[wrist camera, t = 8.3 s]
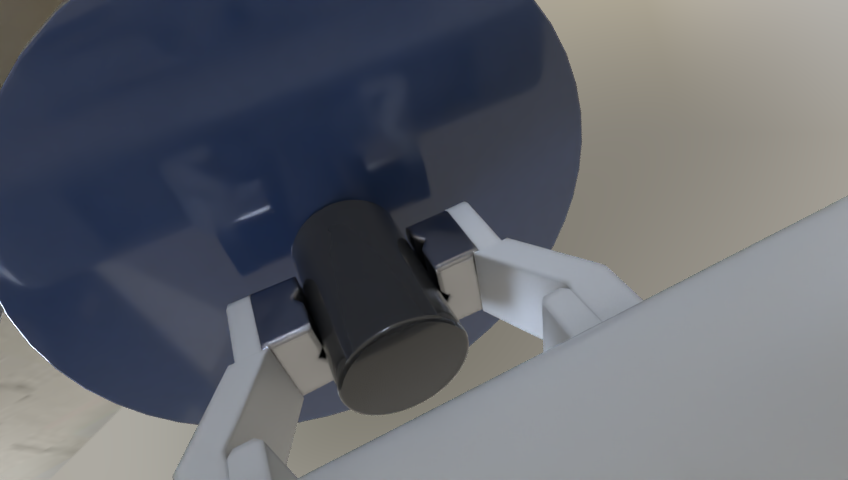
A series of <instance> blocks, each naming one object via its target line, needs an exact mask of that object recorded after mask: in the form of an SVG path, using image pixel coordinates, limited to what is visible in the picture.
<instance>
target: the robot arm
mask: <svg viewBox="0 0 848 480" xmlns="http://www.w3.org/2000/svg"><path fill="white" fill-rule="evenodd" d="M406 235H407V239H408V242H409V243H410V245H411V246H412V248H413V249H414V252H415V253H416V255H417V256H418V258H419V259H420V261H421V262H422V264H423V265H424V267H425V269H426V270H427V272H428V273H429V275H430V276H431V278H432V279H433V281H434V282H435V284H436V285H437V287H438V289H439V290H440V292H441V293H442V295H443V296H444V298H445V299H446V301H447V302H448V304H449V306H450V307H451V309H452V310H453V312H454V313H455V315H456V316H457V318H458V319H459V320H460V319H462V318H464V317H466V316H468V315H471V314H473V313H475V312H477V311H480V310H482V309H483V311H485V312H487V313H489V314H491V315H493V316H495V317H497V318H499V319H501V320H504V321H506V322H508V323H510V324H512V325H514V326H516V327H518V328H520V329H522V330H524V331H526V332H528V333H530V334H532V335H534V336H536V337H538V338H540V339H542V340H543V349H544V352H543V353H541V354H539V355H537V356H535V357H533V358H531V359H529V360H527V361H525V362H524V363H521V364H520V365H518V366H516V367H514V368H512V369H510V370H508V371H506V372H504V373H502V374H500V375H498V376H496V377H495V378H492V379H490V380H489V381H487V382H485V383H483V384H481V385H479V386H477V387H475V388H473V389H471V390H469V391H467V392H465V393H463V394H461V395H459V396H458V397H456V398H454V399H452V400H450V401H448V402H446V403H444V404H442V405H440V406H438V407H436V408H434V409H432V410H430V411H428V412H426V413H424V414H422V415H420V416H419V417H417V418H415V419H413V420H411V421H409V422H407V423H405V424H403V425H401V426H399V427H397V428H395V429H393V430H391V431H389V432H387V433H386V434H384V435H382V436H380V437H378V438H376V439H374V440H372V441H370V442H368V443H366V444H364V445H362V446H360V447H358V448H356V449H354V450H352V451H350V452H348V453H346V454H345V455H343V456H341V457H339V458H337V459H335V460H333V461H331V462H329V463H327V464H325V465H323V466H321V467H319V468H317V469H315V470H314V471H311V472H309V473H308V474H306V475H304V476H302V477H300V478H297V477H296V476H295V475H294V474H293V473H292V472H291V470H290V469H289V468H288V467H287V466H286V464H287V461H288V457H289V453H290V449H291V445H292V442H293V438H294V434H295V430H296V426H297V423H298V419H299V415H300V411H301V408H302V404H303V400H304V397H303V396H304V395H306V394H308V393H310V392H312V391H314V390H316V389H318V388H320V387H322V386H323V385H325V384H327V383H329V382H331V381H333V378H332V375H331V372H330V369H329V366H328V363H327V360H326V357H325V354H324V351H323V348H322V344H321V341H320V338H319V335H318V332H317V329H316V326H315V323H314V322H313V319H312V316H311V313H310V310H309V306H308V303H307V300H306V297H305V294H304V292H303V289H302V287H301V285H300V283H299V282H298V280H297V278H296V277H292V278H290V279H287V280H285V281H283V282H280V283H278V284H275V285H273V286H270V287H268V288H265V289H263V290H261V291H258V292H256V293H253V294H251V295H250V296H247V297H245V298H242V299H240V300H237V301H235V302H233V303H230V304H228V305H227V310H226V312H227V318H228V324H229V331H230V337H231V343H232V349H233V356H234V362H235V363H234V364H231V365H229V366H228V367H227V369H226V371H225V373H224V375H223V377H222V379H221V381H220V383H219V385H218V387H217V389H216V391H215V393H214V395H213V397H212V399H211V401H210V403H209V405H208V407H207V409H206V411H205V413H204V415H203V417H202V419H201V421H200V423H199V425H198V427H197V428H196V430H195V432H194V434H193V437H192V438H191V440H190V442H189V444H188V446H187V448H186V450H185V452H184V454H183V456H182V458H181V460H180V463H179V464H178V466H177V468H176V470H175V472H174V474H173V480H848V196H846V197H844V198H842V199H840V200H838V201H836V202H834V203H832V204H830V205H829V206H827V207H825V208H823V209H821V210H819V211H817V212H815V213H813V214H811V215H809V216H807V217H805V218H803V219H801V220H799V221H797V222H796V223H794V224H792V225H790V226H788V227H786V228H784V229H782V230H780V231H778V232H776V233H774V234H772V235H770V236H768V237H766V238H764V239H762V240H761V241H759V242H757V243H755V244H753V245H751V246H749V247H747V248H745V249H743V250H741V251H739V252H738V253H735V254H733V255H731V256H729V257H727V258H726V259H724V260H722V261H720V262H718V263H716V264H714V265H712V266H710V267H708V268H706V269H704V270H702V271H700V272H698V273H696V274H694V275H692V276H690V277H689V278H687V279H685V280H683V281H681V282H679V283H677V284H675V285H673V286H671V287H669V288H667V289H665V290H663V291H661V292H659V293H658V294H656V295H654V296H652V297H650V298H648V299H646V300H644V301H643V300H642V299H641V298H640V297H639V296H638V295H637V294H636V293H635V292H634V291H633V290H631V289H630V288H629V287H628V286H627V285H626V284H625V283H624V282H623V281H622V280H621V279H620V278H619V277H617V275H615V274H614V273H613V272H612V271H611V270H610V269H609V268H608V267H607V266H606V265H604V264H600V263H596V262H593V261H589V260H586V259H582V258H579V257H575V256H571V255H567V254H564V253H560V252H557V251H553V250H550V249H546V248H542V247H539V246H535V245H531V244H528V243H524V242H521V241H517V240H513V239H510V238H506V239H504V240H501V239H500V238H499V237H498V236H497V235H496V234H495V232H494V231H493V230H492V229H491V228H490V227H489V226H488V225H487V224H486V222H485V221H484V220H483V219H482V218H481V217H480V216H479V215H478V214H477V212H476V211H475V210H474V209H473V208H472V207H471V206H470V205H469V204H468V203H467V202H465V201H464V202H461V203H459V204H457V205H455V206H453V207H451V208H448V209H446V210H445V211H443V212H440V213H438V214H436V215H434V216H431V217H429V218H427V219H425V220H422V221H420V222H418V223H416V224H413V225H411V226H409V227H407V228H406Z"/></svg>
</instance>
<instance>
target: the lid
mask: <svg viewBox="0 0 848 480" xmlns="http://www.w3.org/2000/svg"><path fill="white" fill-rule="evenodd" d="M581 145H582V129H581V110H580V104H579V98H578V92H577V86H576V82H575V79H574V76H573V72H572V69H571V66H570V63H569V60H568V57H567V54H566V52H565V50H564V48H563V46H562V44H561V42H560V40H559V38H558V36H557V34H556V32H555V30H554V28H553V26H552V24H551V22H550V21H549V20H548V18H547V17H546V16H545V14H544V13H543V11H542V10H541V9H540V7H539V6H538V5H537V3H536V2H535V1H534V0H64V1H63V2H62V3H60V5H59V6H58V7H57V8H56V9H55V11H54V12H53V13H52V14H51V15H50V17H49V18H48V19H47V20H46V21H45V23H44V24H43V25H42V26H41V27H40V29H39V30H38V31H37V32H36V33H35V35H34V36H33V37H32V38H31V39H30V40H29V42H28V43H27V44H26V45H25V47H24V48H23V50H22V52H21V53H20V55H19V57H18V58H17V60H16V62H15V64H14V66H13V67H12V69H11V71H10V73H9V74H8V76H7V78H6V80H5V82H4V83H3V85H2V87H1V89H0V304H1V306H2V308H3V310H4V312H5V314H6V315H7V317H8V318H9V319H10V321H11V322H12V323H13V324H14V326H15V327H16V328H17V329H18V331H19V332H20V333H21V335H22V336H23V337H24V338H25V340H26V341H27V342H28V343H29V345H30V346H31V347H32V348H34V349H35V350H36V351H37V352H38V353H39V354H40V355H41V356H42V357H43V358H44V359H46V360H47V361H48V362H49V363H50V364H51V365H52V366H53V367H54V368H55V369H57V370H58V371H60V372H61V373H63V374H64V375H65V376H67V377H68V378H70V379H71V380H73V381H74V382H76V383H77V384H79V385H80V386H82V387H83V388H85V389H87V390H89V391H91V392H93V393H95V394H97V395H99V396H101V397H103V398H105V399H107V400H109V401H111V402H113V403H115V404H117V405H120V406H123V407H126V408H129V409H132V410H135V411H137V412H140V413H143V414H146V415H149V416H154V417H158V418H162V419H167V420H171V421H175V422H180V423H187V424H195V425H199V423H200V421H201V419H202V417H203V415H204V413H205V411H206V409H207V407H208V405H209V403H210V401H211V399H212V397H213V395H214V393H215V391H216V389H217V387H218V385H219V383H220V381H221V379H222V377H223V375H224V373H225V371H226V369H227V367H228V366H229V365H231V364H234V363H235V362H234V356H233V349H232V343H231V337H230V331H229V324H228V318H227V312H226V310H227V305H228V304H230V303H233V302H235V301H237V300H240V299H242V298H245V297H247V296H250V295H251V294H253V293H256V292H258V291H261V290H263V289H265V288H268V287H270V286H273V285H275V284H278V283H280V282H283V281H285V280H287V279H290V278H292V277H296V278H297V280H298V282H299V283H300V285H301V287H302V289H303V292H304V294H305V297H306V300H307V303H308V306H309V310H310V313H311V316H312V319H313V322H314V323H315V326H316V329H317V332H318V335H319V338H320V341H321V344H322V348H323V351H324V354H325V357H326V360H327V363H328V366H329V369H330V372H331V375H332V378H333V381H331V382H329V383H327V384H325V385H323V386H322V387H320V388H318V389H316V390H314V391H312V392H310V393H308V394H306V395H304V396H303V397H304V400H303V404H302V408H301V411H300V415H299V419H298V422H303V421H308V420H313V419H318V418H322V417H327V416H330V415H334V414H337V413H341V412H344V411H348V410H352V411H354V412H357V413H360V414H363V415H371V416H380V415H388V414H393V413H397V412H401V411H404V410H407V409H409V408H412V407H414V406H417V405H419V404H421V403H423V402H424V401H426V400H427V399H429V398H431V397H433V396H434V395H435V394H436V393H438V392H439V391H441V390H442V389H443V388H444V387H445V386H447V385H448V383H450V382H451V380H453V378H454V377H455V376H456V375H457V374H458V372H459V371H460V369H461V368H462V366H463V364H464V362H465V360H466V357H467V354H468V348H469V346H471V345H472V344H473V343H474V342H475V341H476V340H478V339H479V338H480V337H481V336H482V335H483V334H484V333H486V332H487V331H488V330H489V329H490V328H491V327H492V326H493V325H494V324H495V323H496V322H497V321H498V320H499V318H497V317H495V316H493V315H491V314H489V313H487V312H485V311H483V309H482V310H480V311H477V312H475V313H473V314H471V315H468V316H466V317H464V318H462V319H460V320H459V319H458V318H457V316H456V315H455V313H454V312H453V310H452V309H451V307H450V306H449V304H448V302H447V301H446V299H445V298H444V296H443V295H442V293H441V292H440V290H439V289H438V287H437V285H436V284H435V282H434V281H433V279H432V278H431V276H430V275H429V273H428V272H427V270H426V269H425V267H424V265H423V264H422V262H421V261H420V259H419V258H418V256H417V255H416V253H415V252H414V249H413V248H412V246H411V245H410V243H409V242H408V239H407V235H406V228H407V227H409V226H411V225H413V224H416V223H418V222H420V221H422V220H425V219H427V218H429V217H431V216H434V215H436V214H438V213H440V212H443V211H445V210H446V209H448V208H451V207H453V206H455V205H457V204H459V203H461V202H464V201H465V202H467V203H468V204H469V205H470V206H471V207H472V208H473V209H474V210H475V211H476V212H477V214H478V215H479V216H480V217H481V218H482V219H483V220H484V221H485V222H486V224H487V225H488V226H489V227H490V228H491V229H492V230H493V231H494V232H495V234H496V235H497V236H498V237H499V238H500V239H501V240H504V239H506V238H510V239H513V240H517V241H521V242H524V243H528V244H531V245H535V246H539V247H542V248H546V249H550V250H551V249H552V248H553V246H554V244H555V241H556V239H557V237H558V235H559V233H560V230H561V228H562V226H563V224H564V222H565V219H566V216H567V213H568V210H569V207H570V204H571V201H572V198H573V195H574V191H575V186H576V181H577V177H578V172H579V166H580V155H581Z"/></svg>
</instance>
